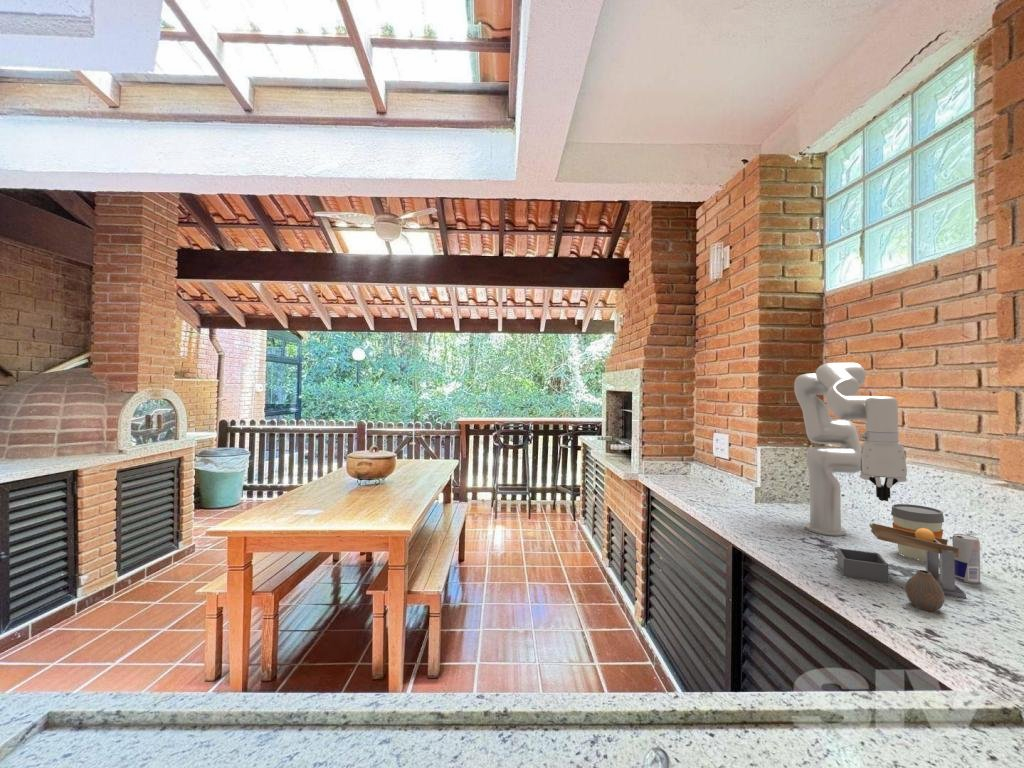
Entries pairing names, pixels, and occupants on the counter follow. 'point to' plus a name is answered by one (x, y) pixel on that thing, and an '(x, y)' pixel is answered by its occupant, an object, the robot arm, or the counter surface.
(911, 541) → the wooden tilting tray
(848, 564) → the bin
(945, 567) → the stand
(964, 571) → the energy drink
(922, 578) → the vase
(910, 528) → the reusable coffee cup
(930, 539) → the ball
